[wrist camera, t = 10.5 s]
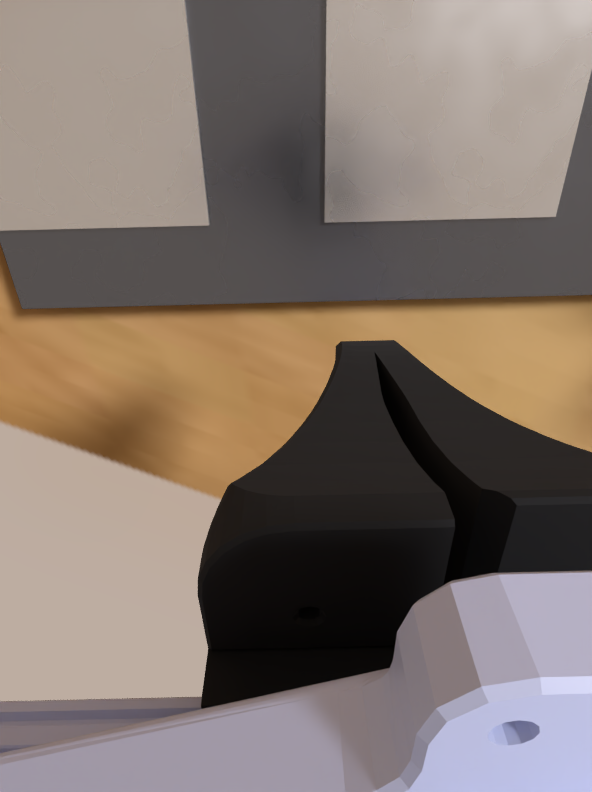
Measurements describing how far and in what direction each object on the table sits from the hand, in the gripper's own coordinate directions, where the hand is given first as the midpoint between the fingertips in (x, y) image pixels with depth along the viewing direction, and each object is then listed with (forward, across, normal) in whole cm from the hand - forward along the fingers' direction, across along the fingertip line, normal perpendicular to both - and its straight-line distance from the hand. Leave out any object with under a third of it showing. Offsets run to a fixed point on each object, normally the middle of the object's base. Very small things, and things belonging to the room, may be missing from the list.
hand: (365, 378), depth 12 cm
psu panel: (+9, 0, -5) cm, 11 cm away
